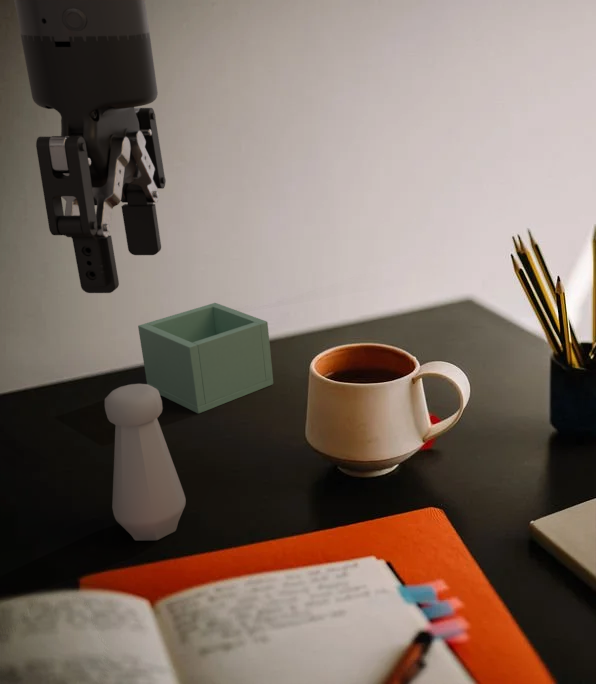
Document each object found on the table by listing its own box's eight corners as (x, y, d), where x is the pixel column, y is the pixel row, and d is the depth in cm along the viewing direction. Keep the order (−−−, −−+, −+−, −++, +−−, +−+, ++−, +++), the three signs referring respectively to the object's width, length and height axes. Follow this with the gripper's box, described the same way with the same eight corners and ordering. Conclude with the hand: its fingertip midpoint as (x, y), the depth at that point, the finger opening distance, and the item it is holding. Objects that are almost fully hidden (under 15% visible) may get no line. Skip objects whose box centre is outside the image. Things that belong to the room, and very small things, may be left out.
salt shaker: (129, 555, 74) (104, 413, 69) (107, 525, 78) (81, 388, 73) (199, 530, 77) (180, 392, 72) (175, 502, 81) (154, 370, 77)
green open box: (198, 414, 98) (189, 347, 95) (147, 389, 104) (137, 325, 101) (273, 384, 105) (267, 321, 102) (222, 362, 111) (215, 302, 108)
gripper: (72, 21, 64) (109, 244, 70) (-34, 34, 51) (22, 306, 57) (180, 22, 64) (207, 244, 70) (101, 34, 51) (143, 306, 57)
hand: (124, 271), depth 64 cm, fingers open, 8 cm apart
